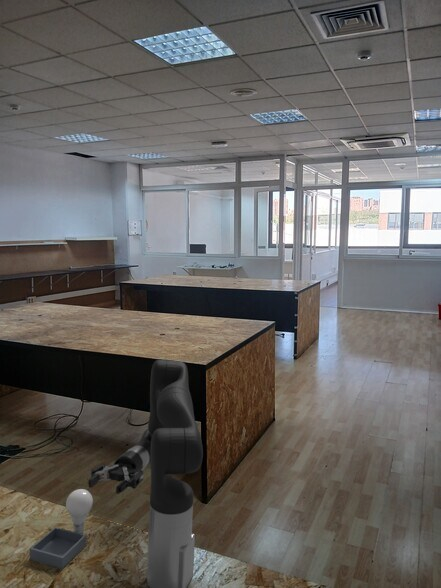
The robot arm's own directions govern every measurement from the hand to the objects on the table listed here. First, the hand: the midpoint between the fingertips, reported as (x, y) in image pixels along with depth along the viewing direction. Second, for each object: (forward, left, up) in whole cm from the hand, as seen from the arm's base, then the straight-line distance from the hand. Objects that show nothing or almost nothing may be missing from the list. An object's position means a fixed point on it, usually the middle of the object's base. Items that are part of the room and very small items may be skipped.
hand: (103, 487), depth 121 cm
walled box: (0, +19, -7) cm, 20 cm away
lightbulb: (0, +11, -7) cm, 13 cm away
